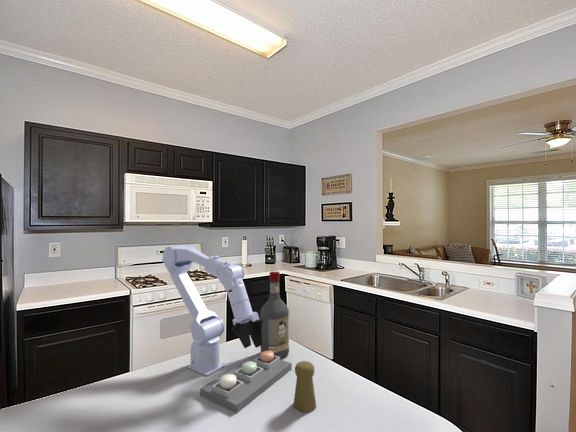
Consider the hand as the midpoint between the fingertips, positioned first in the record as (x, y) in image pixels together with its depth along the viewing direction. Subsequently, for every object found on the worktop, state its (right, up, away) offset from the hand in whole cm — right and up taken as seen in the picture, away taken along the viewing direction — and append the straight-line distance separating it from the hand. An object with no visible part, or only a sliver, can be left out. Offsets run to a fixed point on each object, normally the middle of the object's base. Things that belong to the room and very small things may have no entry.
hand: (253, 346), depth 88 cm
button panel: (-1, -11, +1) cm, 11 cm away
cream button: (-6, -8, -7) cm, 12 cm away
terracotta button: (+4, -8, +8) cm, 12 cm away
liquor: (+6, -12, +19) cm, 23 cm away
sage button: (-1, -8, +1) cm, 8 cm away
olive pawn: (+15, -11, -11) cm, 21 cm away
